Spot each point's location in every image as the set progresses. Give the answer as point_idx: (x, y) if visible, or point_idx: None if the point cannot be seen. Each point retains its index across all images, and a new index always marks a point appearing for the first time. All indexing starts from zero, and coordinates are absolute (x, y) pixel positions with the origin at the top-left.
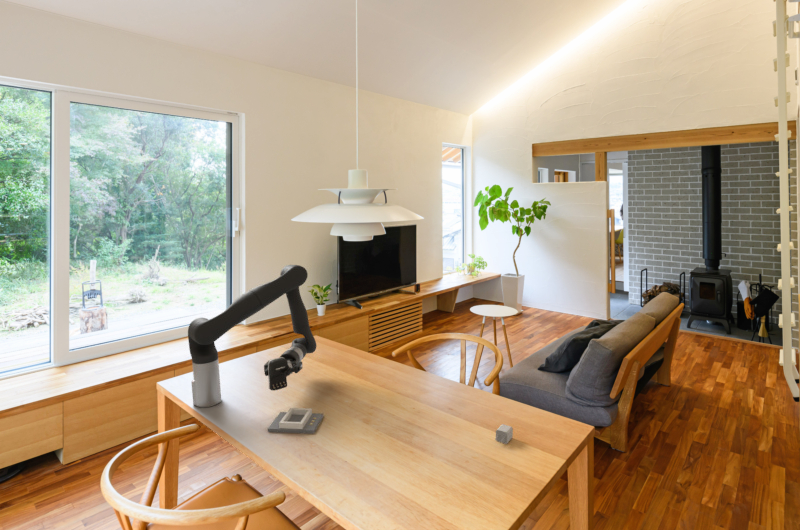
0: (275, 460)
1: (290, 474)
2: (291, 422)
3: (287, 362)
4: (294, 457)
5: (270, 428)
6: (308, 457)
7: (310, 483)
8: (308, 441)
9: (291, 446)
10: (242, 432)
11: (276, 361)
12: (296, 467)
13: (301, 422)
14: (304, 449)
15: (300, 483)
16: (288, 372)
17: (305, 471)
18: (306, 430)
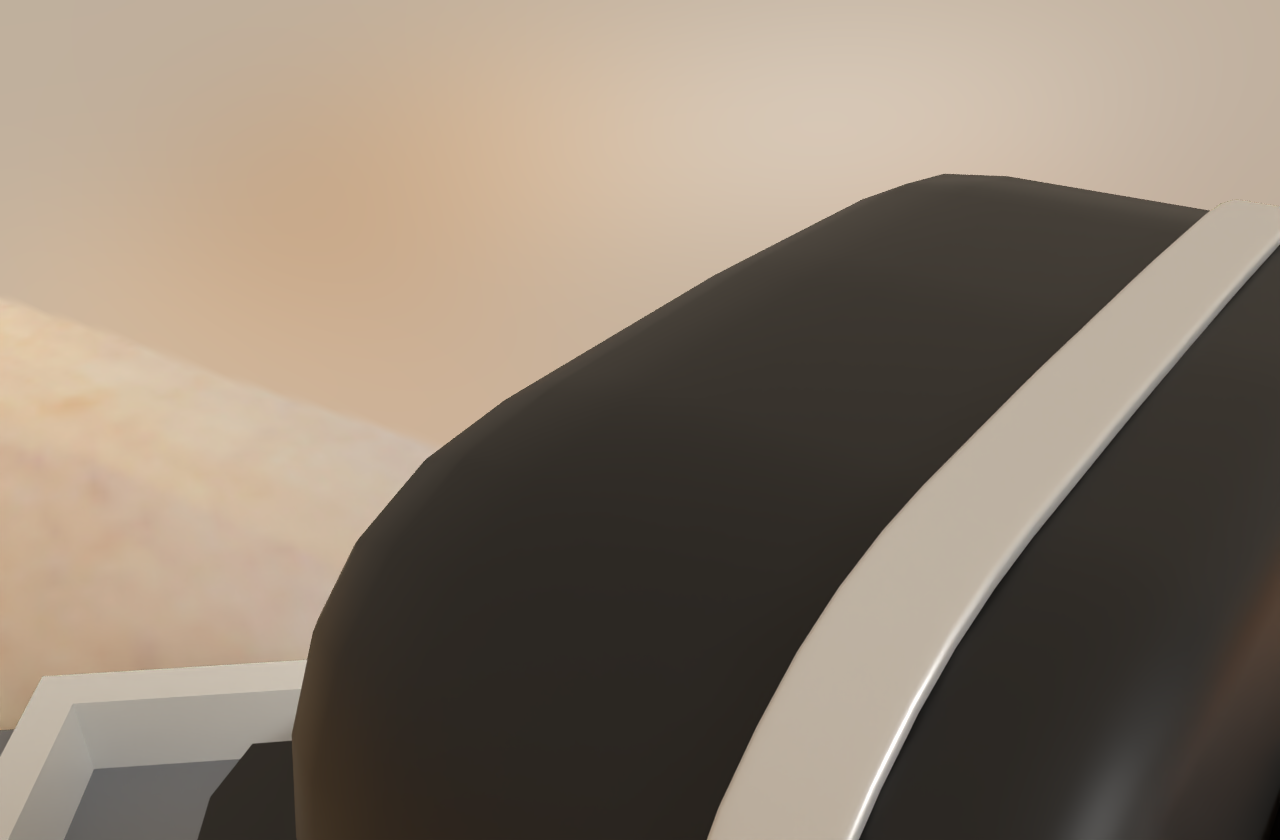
0: (310, 432)
1: (163, 363)
2: (210, 679)
3: (298, 770)
4: (150, 468)
5: None
6: (20, 480)
7: (20, 334)
8: (4, 645)
9: (197, 564)
10: None
11: (843, 212)
12: (123, 403)
13: (53, 697)
14: (55, 547)
15: (88, 328)
16: (249, 782)
17: (52, 387)
18: (6, 735)
